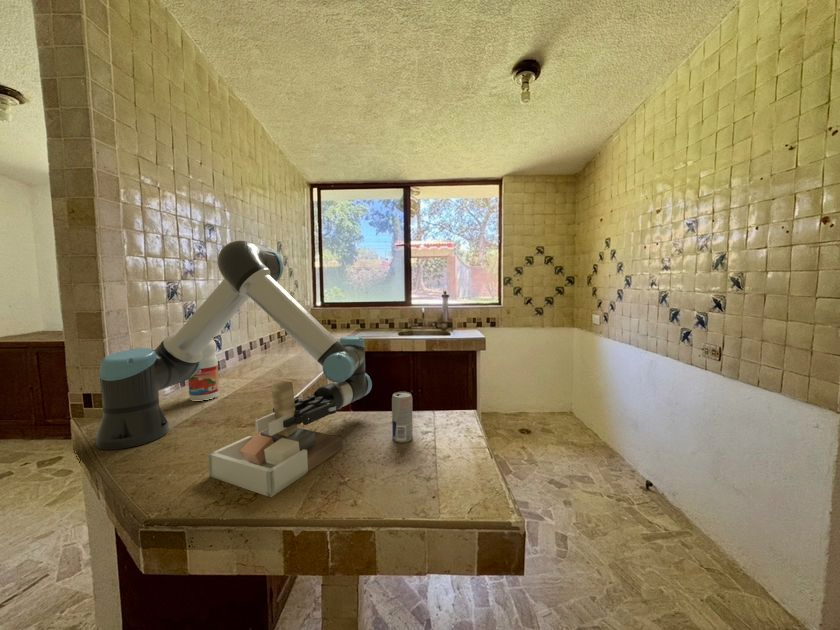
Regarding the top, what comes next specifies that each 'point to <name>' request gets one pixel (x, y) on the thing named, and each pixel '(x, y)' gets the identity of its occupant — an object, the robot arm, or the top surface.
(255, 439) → the tile terracotta
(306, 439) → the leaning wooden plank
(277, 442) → the tile cream
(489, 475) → the top surface
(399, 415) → the energy drink
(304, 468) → the tray
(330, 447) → the board
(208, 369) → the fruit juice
